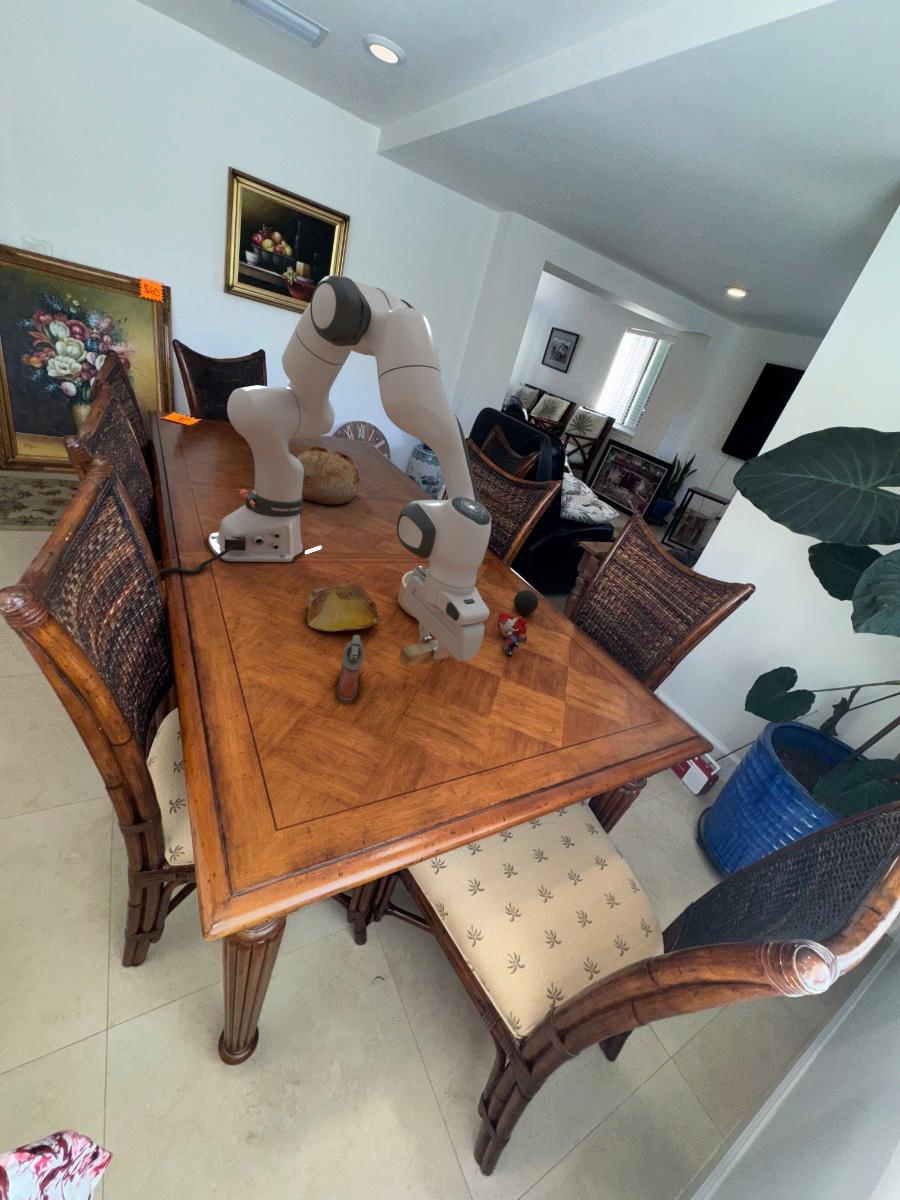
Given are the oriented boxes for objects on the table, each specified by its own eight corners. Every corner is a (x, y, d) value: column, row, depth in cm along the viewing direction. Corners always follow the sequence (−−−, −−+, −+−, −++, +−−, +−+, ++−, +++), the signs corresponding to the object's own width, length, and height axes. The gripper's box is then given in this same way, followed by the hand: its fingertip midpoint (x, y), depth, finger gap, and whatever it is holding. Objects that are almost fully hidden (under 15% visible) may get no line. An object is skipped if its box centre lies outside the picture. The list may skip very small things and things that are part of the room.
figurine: (493, 655, 105) (489, 620, 119) (526, 670, 107) (518, 633, 120) (507, 633, 103) (502, 600, 116) (541, 648, 104) (532, 613, 118)
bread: (347, 513, 157) (354, 468, 150) (275, 496, 155) (279, 449, 148) (361, 489, 180) (368, 450, 173) (299, 474, 178) (303, 433, 171)
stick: (406, 668, 89) (409, 656, 88) (398, 659, 91) (401, 647, 90) (455, 655, 97) (459, 644, 95) (447, 647, 98) (451, 636, 97)
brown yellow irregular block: (391, 622, 100) (321, 613, 93) (378, 648, 104) (310, 641, 96) (374, 574, 112) (310, 563, 104) (363, 599, 116) (300, 590, 108)
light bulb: (536, 588, 133) (540, 591, 123) (534, 611, 133) (538, 616, 124) (513, 586, 133) (515, 590, 123) (511, 609, 134) (513, 614, 124)
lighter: (340, 671, 90) (348, 627, 85) (358, 674, 91) (367, 630, 86) (335, 701, 83) (343, 655, 78) (355, 703, 84) (364, 658, 79)
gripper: (402, 562, 91) (388, 622, 97) (468, 623, 78) (447, 687, 85) (429, 560, 95) (414, 618, 101) (496, 617, 82) (474, 679, 89)
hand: (430, 650), depth 93 cm, fingers closed on stick, 3 cm apart
